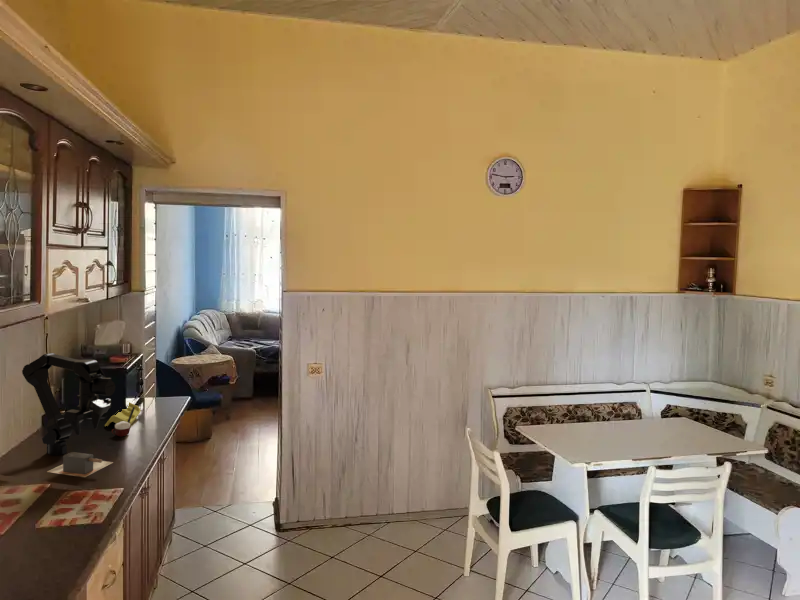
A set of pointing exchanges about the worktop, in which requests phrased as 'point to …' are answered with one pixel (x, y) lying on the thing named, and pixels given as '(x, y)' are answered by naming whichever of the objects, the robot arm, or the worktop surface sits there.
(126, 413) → the plastic component
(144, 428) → the worktop surface
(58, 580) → the worktop surface
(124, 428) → the cocoa
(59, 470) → the birch board
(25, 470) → the worktop surface
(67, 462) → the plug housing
